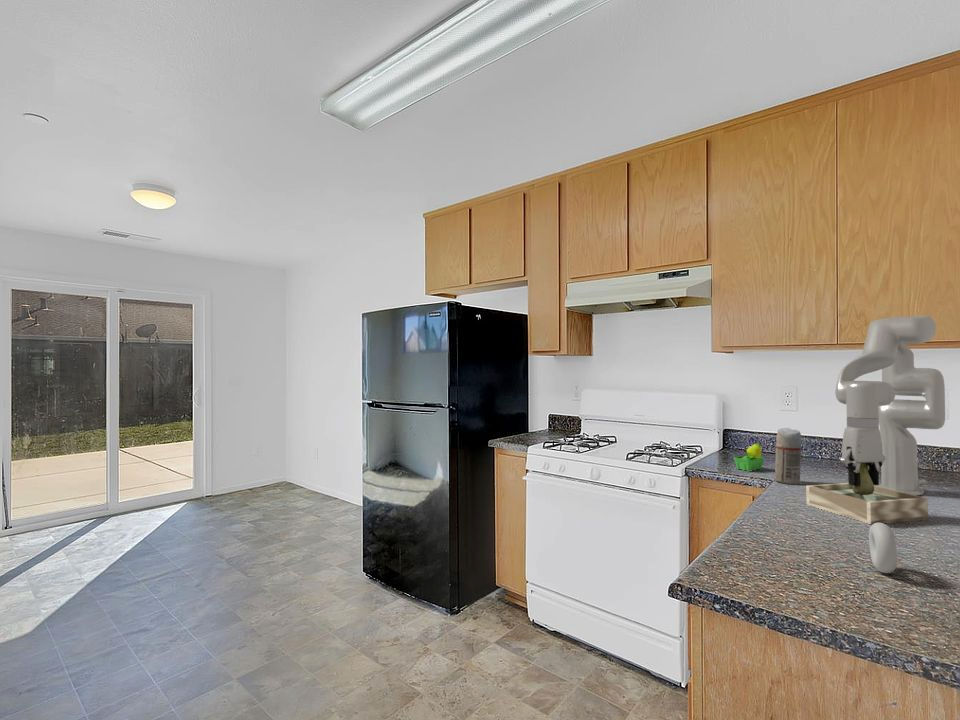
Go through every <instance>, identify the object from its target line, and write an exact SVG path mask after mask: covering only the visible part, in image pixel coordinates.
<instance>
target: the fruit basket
mask: <svg viewBox="0 0 960 720" xmlns="http://www.w3.org/2000/svg"><path fill="white" fill-rule="evenodd" d="M761 446H762V445H760V443H754V444H753V445H752V446H749V447H748V448H746V453H747V454H746V455H740V456H739V455H738V456H733V460H734V462H735V467H736V469H737V468H738V469H742V470H741V471H744V470H748V471H747V472H752V471H751V470H754V471H756V470H755V469H760V470H762V467H763V464H764V461H765V460H766V459H765V457H762V447H761ZM738 469H737V470H738Z"/></svg>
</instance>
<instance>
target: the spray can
mask: <svg viewBox="0 0 960 720" xmlns="http://www.w3.org/2000/svg"><path fill="white" fill-rule="evenodd" d="M801 461H802V433H801V432H800V430H798V429H793V428H789V427H782V428H778V429H777V432H776V442H775V462H774V463H775V465H774V466H775V467H774V468H775V471H774V473H775V479H774V481H776V482H779V483H782V484H788V485H789V484H790V485H799V483H800V484H801V467H802V465H801V464H802V462H801Z"/></svg>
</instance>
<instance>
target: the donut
mask: <svg viewBox="0 0 960 720" xmlns="http://www.w3.org/2000/svg"><path fill="white" fill-rule="evenodd" d="M868 531H869V532H868V545H869V552H870V558H871V563H872V564H873V567H874V568H875V569H876V570H877V571H878V572H880V573H883V574H890V573H892V572H894V571H895V570H896V568H897V563H898V551H897V550H898V549H897V543H896V539H895V538H896V537H895V535H894V532H893V531H892V528H891V527H890V526H889V525H887V524H883V523H874V524H873V525H870V527H869V530H868Z"/></svg>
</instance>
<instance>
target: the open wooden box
mask: <svg viewBox="0 0 960 720" xmlns="http://www.w3.org/2000/svg"><path fill="white" fill-rule="evenodd" d="M805 486H806V488H805V491H806V492H805V493H806V500H805V501H806V506H808V507H811V506H812V508H814V507H815V509H818V508H819V509H818V510H821V509H822V510H821V511H824V510H825V511H824V512H827V511H828V512H829V513H831V512H832V513H831V514H834V513H835V514H834V515H837V514H838V516H840V515H842V516H841V517H844V516H846V517H845V518H847V517H849V518H848V519H850V518H852V519H851V520H853V519H856V520H859V521H858V522H860V521H862V522H861V523H863V522H865V523H864V524H866V523H868V524H867V525H869V524H874V523H887V524H895V523H897V522H898V523H907V522H919V521H920V520H921V521H928V520H929V506H928V505H929V504H928V503H929V500H928V498H927V497H924V496H921V495H911V494H907V493H902V492H898V491H894V490H889V489H885V488H881V487H876V485H874V492H873V493H872V494H871V495H859V494H856V493H855V492H854V491H853V485H850V484H849V482H845V483H844V482H841V483H827V484H812V485H805ZM856 520H855V521H856ZM898 523H897V524H898Z"/></svg>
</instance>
